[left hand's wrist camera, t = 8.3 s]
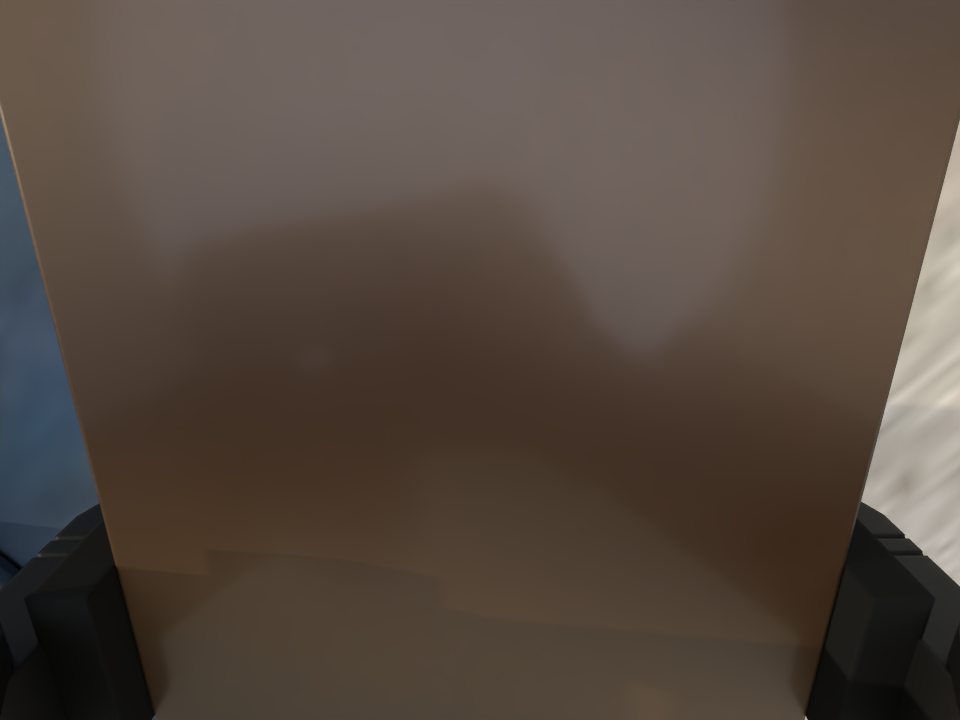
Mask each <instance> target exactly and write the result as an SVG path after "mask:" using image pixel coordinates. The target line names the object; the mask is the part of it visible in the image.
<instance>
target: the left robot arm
mask: <svg viewBox="0 0 960 720" xmlns="http://www.w3.org/2000/svg"><path fill="white" fill-rule="evenodd" d="M153 716H154V713H153V709H152V705H151V701H150V697H149V693H148V690H147V686H146V682H145V678H144V674H143V670H142V666H141V662H140V658H139V655H138V651H137V647H136V643H135V639H134V635H133V631H132V627H131V623H130V620H129V616H128V612H127V608H126V604H125V600H124V596H123V592H122V588H121V584H120V581H119V577H118V573H117V569H116V565H115V561H114V557H113V553H112V549H111V546H110V542H109V538H108V534H107V530H106V526H105V522H104V518H103V514H102V511H101V507H100V503H99V504H98V505H96V506H94V507H92V508H91V509H89V510H87V511H86V512H84V513H82V514H80V515H79V516H77V517H76V518H75V519H74V520H73V521H71V522H70V523H69V524H68V525H67V526H66V527H65V528H64V529H63V530H62V531H61V532H60V533H59V534H58V535H57V536H56V537H55V541H50V542H49V543H48V544H47V545H46V546H45V547H44V548H43V549H42V550H41V551H40V552H39V553H38V556H37V558H33V559H31V560H30V561H29V562H28V563H27V564H26V565H25V566H24V567H23V568H22V569H21V570H20V571H19V570H18V569H17V568H16V567H15V566H13V565H12V564H11V563H10V562H8V561H7V560H6V559H4V558H3V557H2V556H0V720H152V718H153ZM806 717H807V719H808V720H960V586H959V585H958V584H957V583H955V582H954V581H953V580H952V579H951V578H950V577H949V576H948V575H947V574H946V573H945V572H944V571H943V570H942V569H941V568H940V567H939V566H937V565H936V564H935V563H934V562H933V561H932V560H931V559H930V558H929V557H928V556H923V553H922V550H921V549H919V548H918V547H917V546H916V545H915V544H914V543H913V542H912V541H911V540H910V539H906V538H905V534H904V533H903V532H901V531H900V530H899V529H898V528H897V527H896V526H895V525H894V524H893V523H892V522H891V521H890V520H889V519H888V518H887V517H886V516H885V515H883V514H882V513H880V512H878V511H876V510H875V509H873V508H871V507H869V506H868V505H866V504H864V503H863V502H861V503H860V507H859V511H858V514H857V518H856V522H855V526H854V530H853V534H852V538H851V541H850V545H849V549H848V553H847V557H846V561H845V565H844V569H843V572H842V576H841V580H840V584H839V588H838V592H837V596H836V599H835V603H834V607H833V611H832V615H831V619H830V623H829V626H828V630H827V634H826V638H825V642H824V646H823V650H822V654H821V657H820V661H819V665H818V669H817V673H816V677H815V681H814V684H813V688H812V692H811V696H810V700H809V704H808V708H807V712H806Z"/></svg>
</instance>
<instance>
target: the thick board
mask: <svg viewBox="0 0 960 720" xmlns="http://www.w3.org/2000/svg"><path fill="white" fill-rule="evenodd" d="M0 117H1V121H2V125H3V129H4V133H5V137H6V141H7V145H8V148H9V152H10V156H11V160H12V164H13V168H14V172H15V176H16V180H17V183H18V187H19V191H20V195H21V199H22V203H23V207H24V211H25V215H26V219H27V222H28V226H29V230H30V234H31V238H32V242H33V246H34V250H35V254H36V257H37V261H38V265H39V269H40V273H41V277H42V281H43V285H44V289H45V292H46V296H47V300H48V304H49V308H50V312H51V316H52V320H53V324H54V328H55V331H56V335H57V339H58V343H59V347H60V351H61V355H62V359H63V363H64V366H65V370H66V374H67V378H68V382H69V386H70V390H71V394H72V398H73V401H74V405H75V409H76V413H77V417H78V421H79V425H80V429H81V433H82V437H83V440H84V444H85V448H86V452H87V456H88V460H89V464H90V468H91V472H92V475H93V479H94V483H95V487H96V491H97V495H98V499H99V503H100V507H101V511H102V514H103V518H104V522H105V526H106V530H107V534H108V538H109V542H110V546H111V549H112V553H113V557H114V561H115V565H116V569H117V573H118V577H119V581H120V584H121V588H122V592H123V596H124V600H125V604H126V608H127V612H128V616H129V620H130V623H131V627H132V631H133V635H134V639H135V643H136V647H137V651H138V655H139V658H140V662H141V666H142V670H143V674H144V678H145V682H146V686H147V690H148V693H149V697H150V701H151V705H152V709H153V713H154V717H155V720H804V719H805V715H806V712H807V708H808V704H809V700H810V696H811V692H812V688H813V684H814V681H815V677H816V673H817V669H818V665H819V661H820V657H821V654H822V650H823V646H824V642H825V638H826V634H827V630H828V626H829V623H830V619H831V615H832V611H833V607H834V603H835V599H836V596H837V592H838V588H839V584H840V580H841V576H842V572H843V569H844V565H845V561H846V557H847V553H848V549H849V545H850V541H851V538H852V534H853V530H854V526H855V522H856V518H857V514H858V511H859V507H860V503H861V499H862V495H863V491H864V487H865V483H866V480H867V476H868V472H869V468H870V464H871V460H872V456H873V453H874V449H875V445H876V441H877V437H878V433H879V429H880V426H881V422H882V418H883V414H884V410H885V406H886V402H887V398H888V395H889V391H890V387H891V383H892V379H893V375H894V371H895V368H896V364H897V360H898V356H899V352H900V348H901V344H902V341H903V337H904V333H905V329H906V325H907V321H908V317H909V313H910V310H911V306H912V302H913V298H914V294H915V290H916V286H917V283H918V279H919V275H920V271H921V267H922V263H923V259H924V255H925V252H926V248H927V244H928V240H929V236H930V232H931V228H932V225H933V221H934V217H935V213H936V209H937V205H938V201H939V198H940V194H941V190H942V186H943V182H944V178H945V174H946V170H947V167H948V163H949V159H950V155H951V151H952V147H953V143H954V140H955V136H956V132H957V128H958V124H959V120H960V0H0Z"/></svg>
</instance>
